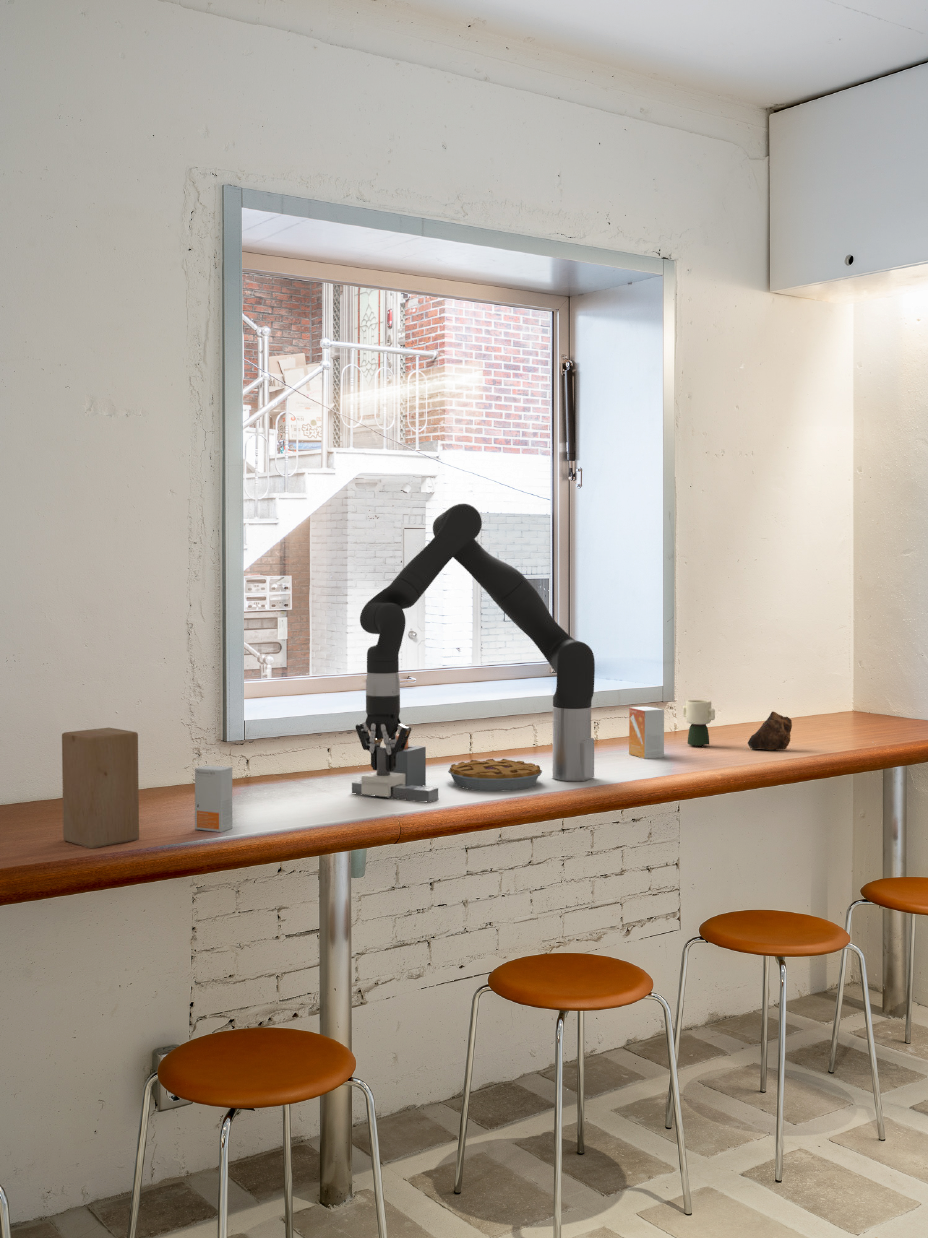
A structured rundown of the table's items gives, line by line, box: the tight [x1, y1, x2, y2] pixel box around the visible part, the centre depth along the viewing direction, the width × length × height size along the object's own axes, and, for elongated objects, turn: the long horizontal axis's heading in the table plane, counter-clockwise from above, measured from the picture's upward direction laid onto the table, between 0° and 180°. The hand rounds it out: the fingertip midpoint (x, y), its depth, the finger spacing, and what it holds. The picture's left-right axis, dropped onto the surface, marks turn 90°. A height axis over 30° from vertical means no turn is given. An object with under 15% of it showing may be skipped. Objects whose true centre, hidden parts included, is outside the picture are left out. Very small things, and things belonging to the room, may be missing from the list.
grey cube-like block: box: [391, 744, 427, 786], centre depth 261 cm, size 8×8×9 cm
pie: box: [447, 758, 543, 792], centre depth 265 cm, size 22×22×5 cm
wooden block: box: [61, 727, 140, 849], centre depth 208 cm, size 10×10×20 cm
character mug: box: [682, 699, 716, 747], centre depth 323 cm, size 11×7×13 cm, turn 42°
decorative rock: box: [747, 710, 793, 751], centre depth 316 cm, size 12×6×11 cm, turn 81°
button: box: [396, 734, 409, 750], centre depth 261 cm, size 3×3×4 cm
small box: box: [628, 705, 665, 760], centre depth 306 cm, size 8×6×13 cm
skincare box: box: [194, 764, 233, 833], centre depth 217 cm, size 6×4×12 cm
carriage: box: [360, 746, 405, 797], centre depth 250 cm, size 7×7×10 cm
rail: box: [351, 780, 439, 803], centre depth 249 cm, size 20×4×2 cm, turn 61°
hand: (383, 770), depth 250 cm, fingers closed on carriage, 3 cm apart
